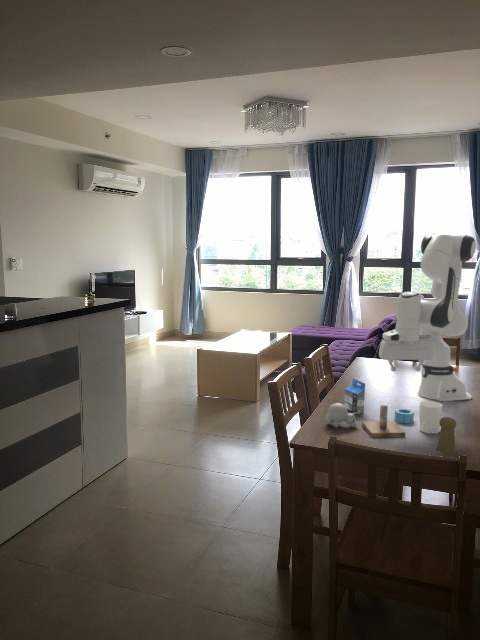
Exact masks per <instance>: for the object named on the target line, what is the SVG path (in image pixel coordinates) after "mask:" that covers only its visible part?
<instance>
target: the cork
mask: <svg viewBox="0 0 480 640" xmlns="http://www.w3.org/2000/svg"><path fill="white" fill-rule="evenodd" d="M439 424H440V429H439V435H438V441H437V445H436V451H437V452H439V453H442V454H446V455H448V454H449V455H453V454H455V452H456V453H457V446H456V435H455V430H456V427H457V420H456V419H455V418H452V417H450V416H449V417H447V416H445V417H441V419H440V422H439Z"/></svg>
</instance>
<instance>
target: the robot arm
mask: <svg viewBox="0 0 480 640" xmlns="http://www.w3.org/2000/svg"><path fill="white" fill-rule="evenodd" d="M420 250H421V254H422V257H421V259H420V260H421V261H420V269H421V271H422V273H423V274H424V276H426V277H427V278H429V279H430V280H432V285H431V289H430V294H431V296H432V297H433V298H434V299H435V300H429V299H427V300H426V299H422V298H421V294H420V293H419V292H418V291H417V292H416V291H403V292H401V293H400V294H399V296H398V299H397V303H396V311H395V312H396V315H395V316H396V324H395V328H394V329H392V330H388V331H386V332H383V333H382V338H383V339H382V340H381V341H380V344H379V348H378V349H379V350H378V356H379V357H380V359H382V360H384V361H386V360H387V362H388V363H389V365H390V371H391V372H396V371H397V366H395V365H394V362H395V361H397V360H399V361H401V360H402V361H403V360H404V361H405V360H406V361H407V360H413V361H414V360H417V361H418V364H417V365H415V366H414V370H415V371H416V372H421V380H420V385H419V389H418V392H417V395H418V396H420V397H422V398H425V399H430V400H436V401H440V402H451V401H463V400H471V399H472V394H470V393H469V392H468V391H467V386H466V383H465V382H464V381H463V380H462V379H460V378H459V376H457V375H456V374H454V373H457V372H458V370H459V368H458V367H457V366H452V365H451V363H450V362H451V347H450V345H449V344H447V342H445V341H444V339H443V338H442V336H446V337H447V336H448V337H455V336H456V337H457V336H462V335H463V334H464V333H465V332H466V331H467V329H468V327H469V326H468V325H469V320H468V318H467V316H466V315H465V314H464V313H463V311H462V309H461V307H460V304H459V290H460V285H461V284H460V283H461V279H462V271H463V270H462V269H463V265H464V264H466V262H468V261H470V260H471V259H473V257H474V255H475V253H476V250H477V243H476V239H475V238H474V237H473V236H471V235H467V234H465V235H464V234H463V235H462V234H459V233H429V234H426V235H424V236H423V238H422V240H421V244H420Z"/></svg>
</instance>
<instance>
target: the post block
mask: <svg viewBox="0 0 480 640" xmlns="http://www.w3.org/2000/svg"><path fill="white" fill-rule="evenodd" d="M379 407H380V408H379V421H362V422H361V426H362V428H363V429H364V430H365V432H367V433H368V434H369V436H370V437H371V438H397V437H399V438H402V437H404V438H405V437H406V432H405V431H404V430H403V428H401V427H400V425H398V424H397V423H396V421H393V420H389V421H388V412H389V411H388V409H389V408H388V407H389V406H388V404H380V406H379Z"/></svg>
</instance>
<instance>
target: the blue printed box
mask: <svg viewBox="0 0 480 640" xmlns="http://www.w3.org/2000/svg"><path fill="white" fill-rule="evenodd" d="M365 391H366V383H365V382H363V381H360V380H358V379H355V378H352V384H351V385H349V386H347V387H345V389H344V406H345V407H346V408H347V411H350V412H351V413H354V412H355V415H362V414H364V413H365V394H366V392H365Z"/></svg>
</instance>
